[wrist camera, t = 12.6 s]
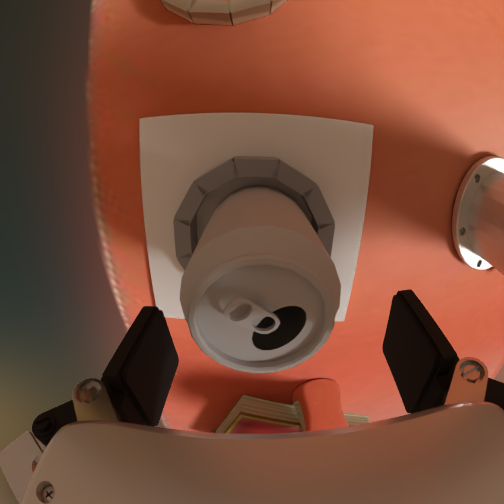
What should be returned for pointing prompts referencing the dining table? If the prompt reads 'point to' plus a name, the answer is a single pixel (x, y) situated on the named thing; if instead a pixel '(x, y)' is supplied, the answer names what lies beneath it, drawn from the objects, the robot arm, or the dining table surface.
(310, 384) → the silver tumbler
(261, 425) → the hardcover book
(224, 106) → the dining table surface
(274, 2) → the stand ring
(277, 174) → the holder
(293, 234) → the can
